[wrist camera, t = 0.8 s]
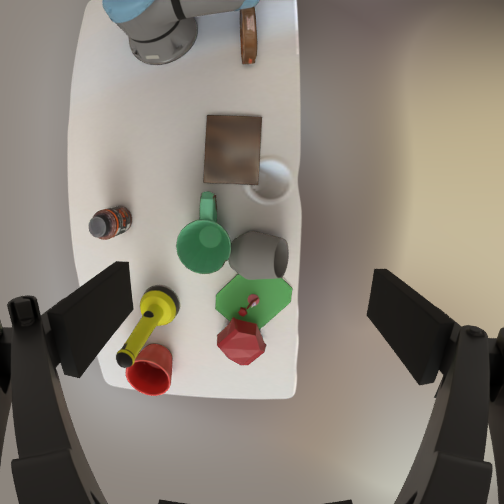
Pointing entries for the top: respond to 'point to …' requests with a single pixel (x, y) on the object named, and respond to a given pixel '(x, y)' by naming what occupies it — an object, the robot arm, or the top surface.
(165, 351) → the flower pot
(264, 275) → the cup
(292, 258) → the top surface
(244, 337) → the red green faceted piece
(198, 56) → the top surface
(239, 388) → the top surface
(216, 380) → the top surface
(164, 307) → the flashlight
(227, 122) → the placemat
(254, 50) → the tin
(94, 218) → the supplement bottle
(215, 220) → the mug
